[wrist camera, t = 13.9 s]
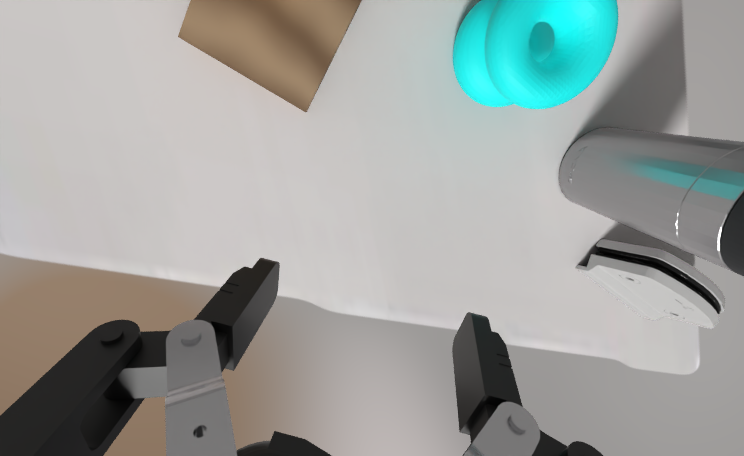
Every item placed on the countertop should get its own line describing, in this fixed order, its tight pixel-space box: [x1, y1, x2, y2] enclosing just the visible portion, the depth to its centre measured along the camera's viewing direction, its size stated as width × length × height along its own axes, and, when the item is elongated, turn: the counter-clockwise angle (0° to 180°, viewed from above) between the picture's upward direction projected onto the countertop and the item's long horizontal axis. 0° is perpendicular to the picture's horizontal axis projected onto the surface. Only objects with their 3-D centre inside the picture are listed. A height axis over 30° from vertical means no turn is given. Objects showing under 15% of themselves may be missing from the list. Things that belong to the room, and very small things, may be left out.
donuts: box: [453, 0, 618, 109], centre depth 28 cm, size 10×10×10 cm
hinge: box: [575, 239, 725, 329], centre depth 41 cm, size 17×5×10 cm, turn 55°
